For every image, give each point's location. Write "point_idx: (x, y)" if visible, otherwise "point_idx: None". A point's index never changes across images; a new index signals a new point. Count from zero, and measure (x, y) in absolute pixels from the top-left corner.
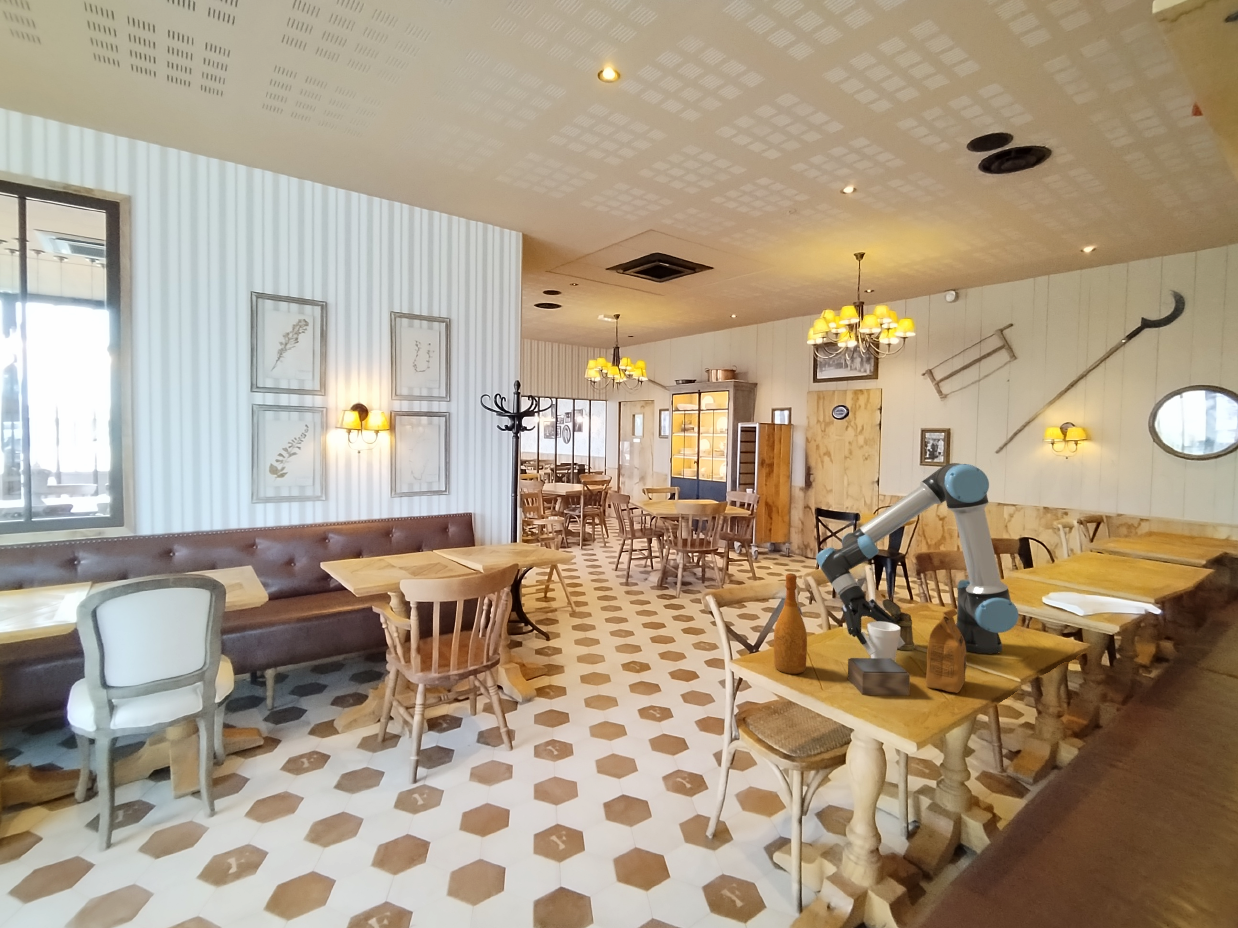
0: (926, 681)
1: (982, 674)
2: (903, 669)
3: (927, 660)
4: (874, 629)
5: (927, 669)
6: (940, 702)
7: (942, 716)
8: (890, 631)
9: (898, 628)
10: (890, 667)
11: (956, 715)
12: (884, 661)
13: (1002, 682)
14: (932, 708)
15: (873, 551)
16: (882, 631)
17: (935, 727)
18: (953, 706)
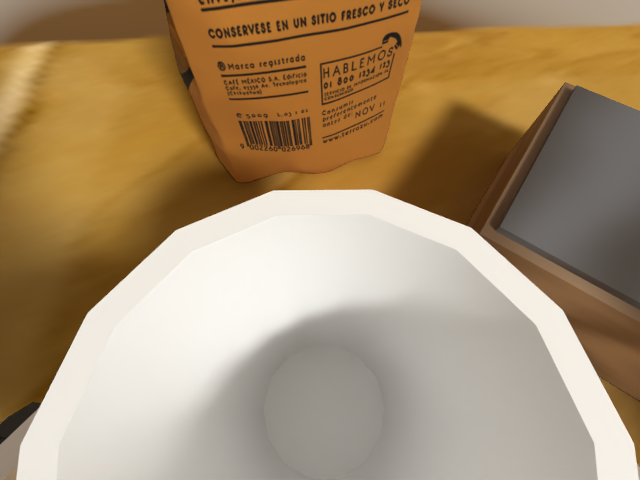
0: (374, 144)
1: (66, 109)
2: (568, 108)
3: (411, 44)
4: (614, 456)
5: (399, 87)
6: (452, 81)
7: (535, 43)
8: (455, 227)
9: (249, 220)
10: (625, 153)
11: (488, 30)
12: (589, 221)
13: (105, 55)
14: (518, 75)
15: None
16: (543, 311)
17: (613, 27)
18: (440, 54)
